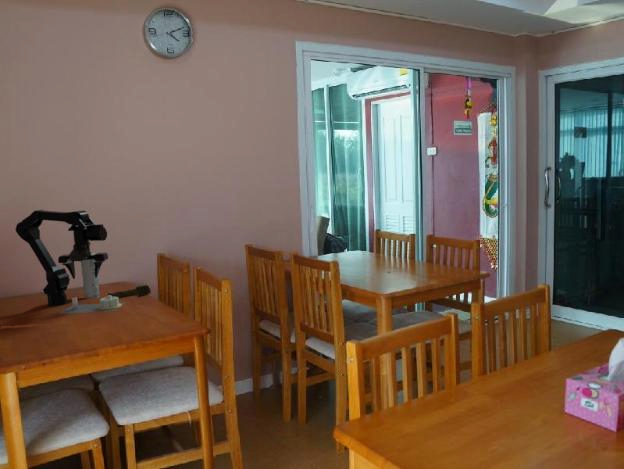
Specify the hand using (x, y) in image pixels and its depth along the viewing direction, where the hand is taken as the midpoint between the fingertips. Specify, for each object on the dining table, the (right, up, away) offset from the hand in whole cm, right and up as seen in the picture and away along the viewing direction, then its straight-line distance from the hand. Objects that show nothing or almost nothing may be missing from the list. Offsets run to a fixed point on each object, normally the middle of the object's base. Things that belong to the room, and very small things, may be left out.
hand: (85, 278), depth 237 cm
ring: (+13, -11, -7) cm, 18 cm away
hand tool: (+14, -10, +15) cm, 23 cm away
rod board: (+6, -13, -6) cm, 15 cm away
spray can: (-4, -10, +17) cm, 21 cm away
